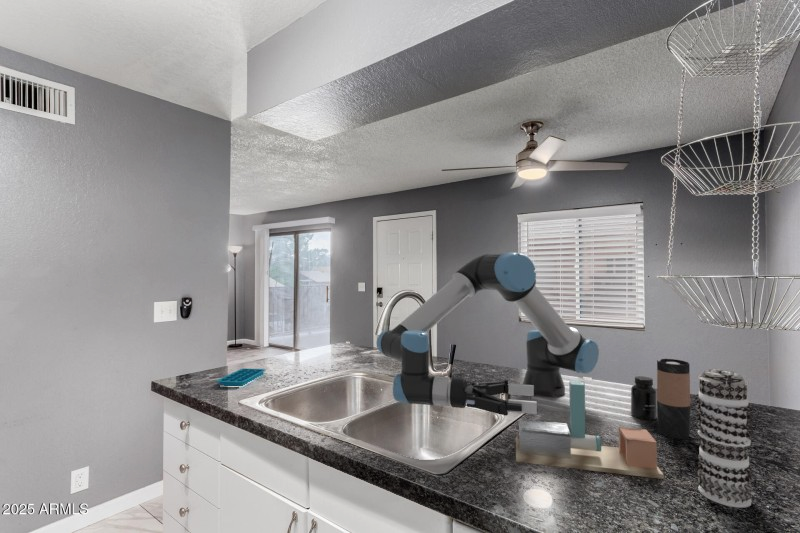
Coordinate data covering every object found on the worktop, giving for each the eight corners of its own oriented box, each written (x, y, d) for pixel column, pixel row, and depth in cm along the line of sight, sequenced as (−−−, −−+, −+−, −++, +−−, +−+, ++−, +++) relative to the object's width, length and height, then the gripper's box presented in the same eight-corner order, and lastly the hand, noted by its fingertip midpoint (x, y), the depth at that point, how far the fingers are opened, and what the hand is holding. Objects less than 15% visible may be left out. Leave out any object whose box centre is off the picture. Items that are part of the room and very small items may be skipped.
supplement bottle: (651, 422, 119) (650, 382, 119) (627, 415, 125) (626, 377, 125) (660, 417, 123) (660, 378, 123) (637, 411, 129) (636, 373, 129)
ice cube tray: (266, 375, 176) (266, 369, 176) (242, 389, 156) (242, 382, 156) (242, 375, 178) (242, 368, 178) (214, 388, 158) (214, 381, 158)
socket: (627, 465, 91) (626, 439, 92) (619, 451, 98) (618, 427, 98) (656, 468, 90) (656, 442, 90) (646, 454, 97) (646, 429, 97)
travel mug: (696, 440, 107) (695, 365, 107) (664, 438, 108) (663, 364, 108) (682, 429, 114) (681, 359, 114) (652, 427, 116) (652, 358, 116)
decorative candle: (729, 512, 76) (727, 379, 76) (684, 486, 85) (683, 368, 85) (767, 505, 77) (765, 376, 78) (719, 481, 86) (718, 365, 87)
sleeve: (519, 453, 98) (519, 429, 98) (519, 441, 105) (519, 419, 105) (570, 458, 95) (570, 434, 95) (566, 446, 102) (566, 423, 102)
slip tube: (530, 446, 99) (529, 381, 99) (529, 440, 102) (529, 378, 102) (601, 454, 95) (600, 386, 95) (598, 447, 98) (597, 382, 98)
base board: (516, 461, 96) (516, 457, 96) (515, 440, 107) (515, 436, 107) (663, 479, 87) (663, 474, 87) (645, 454, 99) (645, 450, 99)
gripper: (457, 392, 118) (532, 398, 112) (443, 423, 94) (538, 433, 88) (457, 366, 118) (532, 371, 112) (443, 391, 94) (538, 399, 88)
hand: (535, 398), depth 100 cm, fingers open, 13 cm apart
